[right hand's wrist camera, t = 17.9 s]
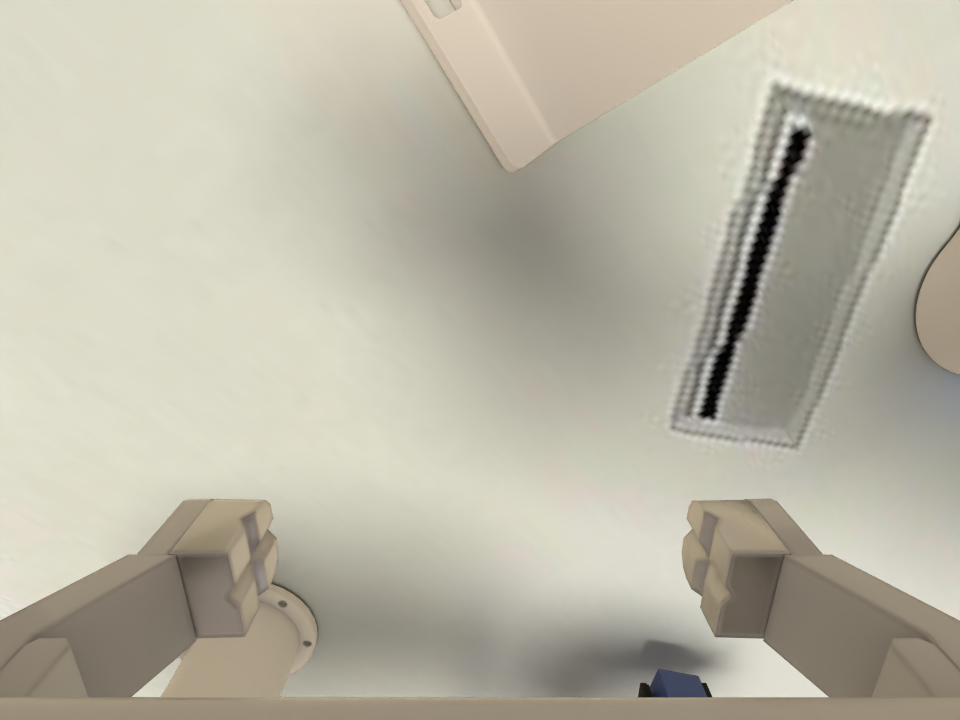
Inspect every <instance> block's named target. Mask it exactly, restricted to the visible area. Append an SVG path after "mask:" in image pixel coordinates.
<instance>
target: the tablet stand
mask: <svg viewBox="0 0 960 720" xmlns="http://www.w3.org/2000/svg"><path fill="white" fill-rule="evenodd" d="M791 1H793V0H451V2H452V3H453V5H454V7H455V9H456V11H454V12H452V13H451V14H449V15H447V16H445V17H443V18H441V19H437V18H435V17H434V15H433V14H432V12H431V11H430V9H429V7H428V6H427V4H426V2H425V1H424V0H401V2H402V4H403V5H404V7H405V8H406V10H407V12H408V13H409V15H410V17H411V18H412V20H413V21H414V23H415V25H416V26H417V28H418V30H419V31H420V33H421V34H422V36H423V38H424V39H425V41H426V43H427V44H428V46H429V47H430V49H431V51H432V52H433V54H434V56H435V57H436V59H437V60H438V62H439V64H440V65H441V67H442V69H443V70H444V72H445V73H446V75H447V77H448V78H449V80H450V82H451V83H452V85H453V86H454V88H455V90H456V91H457V93H458V95H459V96H460V98H461V99H462V101H463V103H464V104H465V106H466V108H467V109H468V111H469V113H470V114H471V116H472V117H473V119H474V121H475V122H476V124H477V126H478V127H479V129H480V130H481V132H482V134H483V135H484V137H485V139H486V140H487V142H488V143H489V145H490V147H491V148H492V150H493V152H494V153H495V155H496V156H497V158H498V160H499V161H500V163H501V165H502V166H503V168H504V169H505V170H506V171H508V172H512V173H513V172H516V171H518V170H520V169H521V168H523V167H525V166H526V165H527V164H529V163H530V162H531V161H533V160H534V159H535V158H536V157H538V156H539V155H540V154H542V153H543V152H544V151H546V150H547V149H548V148H550V147H551V146H552V145H554V144H555V143H557V142H558V141H560V140H562V139H563V138H565V137H567V136H568V135H570V134H572V133H573V132H575V131H577V130H578V129H580V128H582V127H583V126H585V125H587V124H588V123H590V122H592V121H593V120H595V119H597V118H598V117H600V116H602V115H603V114H605V113H607V112H608V111H610V110H612V109H613V108H615V107H617V106H618V105H620V104H622V103H623V102H625V101H627V100H628V99H630V98H632V97H633V96H635V95H637V94H638V93H640V92H642V91H643V90H645V89H647V88H648V87H650V86H652V85H653V84H655V83H657V82H658V81H660V80H662V79H663V78H665V77H667V76H668V75H670V74H672V73H673V72H675V71H677V70H678V69H680V68H682V67H683V66H685V65H687V64H688V63H690V62H692V61H693V60H695V59H697V58H698V57H700V56H701V55H703V54H705V53H706V52H708V51H710V50H711V49H713V48H715V47H716V46H718V45H720V44H721V43H723V42H725V41H726V40H728V39H730V38H731V37H733V36H735V35H736V34H738V33H740V32H741V31H743V30H745V29H746V28H748V27H750V26H751V25H753V24H755V23H756V22H758V21H760V20H761V19H763V18H765V17H766V16H768V15H770V14H771V13H773V12H775V11H776V10H778V9H780V8H781V7H783V6H785V5H786V4H788V3H790V2H791Z"/></svg>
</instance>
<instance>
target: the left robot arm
mask: <svg viewBox="0 0 960 720" xmlns="http://www.w3.org/2000/svg"><path fill="white" fill-rule="evenodd" d="M258 600H259V606H260V608H259V610H258V612H257V614H256V616H255V618H254V620H253V622H252V624H251V626H250V628H249V630H248V632H247V634H246V636H245V637H229V638H196V642H195V643H194V644H193V645H191V646H190V647H189V648H188V649H187V650H185V651H184V652H183V653H182V654H181V655H180V656H178V657H177V658H181V659H182V662H181V664H180V665H179V667H178V669H177V670H176V672H175V674H174V676H173V677H172V679H171V681H170V682H169V684H168V686H167V687H166V689H165V691H164V692H163V694H162V696H161V697H182V698H261V697H281V694H282V692H283V689H284V686H285V684H286V681H287V678H288V675H291V674H293V673H295V672H296V671H298V670H299V669H301V668H302V667H303V666H304V665H305V664H306V663H307V662H308V661H309V659H310V658H311V656H312V654H313V652H314V649H315V646H316V642H317V637H318V632H317V625H316V622H315V619H314V617H313V615H312V613H311V612H310V610H309V608H308V607H307V606H306V605H305V604H304V603H303V602H302V601H301V600H300V599H299V598H297V597H296V596H295V595H294V594H292V593H290V592H289V591H287V590H285V589H283V588H281V587H278V586H276V585H273V584H271V585H270V587H269V589H268V590H266V591H265V592H263V593H262V594H261V595H259V596H258ZM702 686H703V688H704V690H705V693H706V695H707V698H712V695H711V693H710V691H709V688H708V686H707V684H706V683H702ZM638 698H653V697H652V694H651V690H650V687H649V685H647V684H646V683H640V688H639V695H638Z"/></svg>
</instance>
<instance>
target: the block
mask: <svg viewBox="0 0 960 720" xmlns="http://www.w3.org/2000/svg"><path fill="white" fill-rule="evenodd" d="M650 690H651V694H652V697H653V698H707V695H706V693H705V690H704V688H703V686H702V683H701V681H700V679H699V677H698V676H695V675H689V674H684V673H678V672H672V671H667V670H661V669H658V671H657V673H656V675H655V677H654V679H653V681H652V683H651V685H650Z"/></svg>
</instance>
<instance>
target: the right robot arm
mask: <svg viewBox="0 0 960 720" xmlns="http://www.w3.org/2000/svg"><path fill="white" fill-rule="evenodd" d="M916 328H917V333H918V337H919V340H920V342H921V344H922V346H923V348H924V350H925V351H926V353H927V354H928V355H929V357H930V358H931V359H932V360H933V361H934V362H935V363H937V364H938V365H939V366H941V367H942V368H944V369H946V370H948V371H950V372H953V373H956V374H959V375H960V228H959V229H958V231H957V232H956V234H955V235H954V236H953V238H952V239H951V240H950V241H949V243H948V244H947V245H946V246H945V247H944V249H943V250H942V251H941V252H940V254H939V255H938V256H937V258H936V259H935V261H934V262H933V264H932V266H931V267H930V269H929V271H928V273H927V275H926V277H925V279H924V281H923V284H922V286H921V289H920V292H919V296H918V300H917V306H916ZM272 520H273V515H272V510H271V505H270V504H269V503H268V502H267V501H266V500H238V499H215V500H214V499H189V500H186V501H183V502H182V503H181V504H180V505H179V507H178V508H177V509H176V510H175V511H174V512H173V513H172V515H171V516H170V517H169V518H168V519H167V520H166V522H165V523H164V524H163V525H162V526H161V527H160V528H159V530H158V531H157V532H156V533H155V534H154V535H153V537H152V538H151V539H150V540H149V541H148V542H147V543H146V545H145V546H144V547H143V548H142V549H141V550H140V552H139V553H138V554H137V555H127V556H125V557H123V558H121V559H119V560H117V561H115V562H113V563H111V564H109V565H107V566H105V567H104V568H102V569H100V570H98V571H96V572H94V573H92V574H90V575H88V576H86V577H84V578H82V579H80V580H78V581H76V582H74V583H72V584H70V585H69V586H67V587H65V588H63V589H61V590H59V591H57V592H55V593H53V594H51V595H49V596H47V597H45V598H43V599H41V600H39V601H37V602H36V603H34V604H32V605H30V606H28V607H26V608H24V609H22V610H20V611H18V612H16V613H14V614H12V615H10V616H8V617H6V618H4V619H2V620H1V621H0V720H960V621H959V620H957V619H955V618H953V617H951V616H949V615H947V614H946V613H944V612H942V611H940V610H938V609H936V608H934V607H932V606H930V605H928V604H926V603H924V602H922V601H920V600H918V599H916V598H915V597H913V596H911V595H909V594H907V593H905V592H903V591H901V590H899V589H897V588H895V587H893V586H891V585H889V584H887V583H885V582H884V581H882V580H880V579H878V578H876V577H874V576H872V575H870V574H868V573H866V572H864V571H862V570H860V569H858V568H856V567H854V566H853V565H851V564H849V563H847V562H845V561H843V560H841V559H839V558H837V557H835V556H833V555H823V554H822V553H821V552H820V550H819V549H818V548H817V547H816V546H815V545H814V543H813V542H812V541H811V540H810V539H809V538H808V537H807V535H806V534H805V533H804V532H803V531H802V530H801V528H800V527H799V526H798V525H797V524H796V523H795V522H794V520H793V519H792V518H791V517H790V516H789V515H788V514H787V512H786V511H785V510H784V509H783V508H782V507H781V505H780V504H779V503H778V502H777V501H775V500H773V499H745V500H710V501H692V502H691V504H690V506H689V509H688V515H687V520H688V522H689V524H690V525H691V527H692V530H691V531H690V532H689V533H688V534H687V535H686V536H685V537H684V539H683V547H682V560H683V568H684V572H685V575H686V579H687V581H688V583H689V585H690V587H691V589H692V590H694V591H695V592H697V593H698V594H699V595H701V596H702V600H701V606H700V608H701V610H702V612H703V614H704V616H705V618H706V620H707V622H708V624H709V626H710V628H711V630H712V632H713V634H714V636H715V637H729V638H764V640H763V641H764V642H765V643H767V644H768V645H769V646H770V647H771V648H772V649H774V650H775V651H776V652H777V653H778V654H779V655H781V656H782V657H783V658H784V659H785V660H786V661H788V662H789V663H790V664H791V665H792V666H793V667H795V668H796V669H797V670H798V671H799V672H800V673H802V674H803V675H804V676H805V677H806V678H807V679H809V680H810V681H811V682H812V683H813V684H814V685H816V686H817V687H818V688H819V689H820V690H821V691H823V692H824V693H825V694H826V695H827V696H829V697H830V698H557V697H261V698H182V697H132V696H133V695H134V694H135V693H136V692H137V691H139V690H140V689H141V688H142V687H143V686H145V685H146V684H147V683H148V682H149V681H150V680H152V679H153V678H154V677H155V676H156V675H157V674H159V673H160V672H161V671H162V670H163V669H164V668H166V667H167V666H168V665H169V664H170V663H171V662H173V661H174V660H175V659H176V658H177V657H178V656H180V655H181V654H182V653H183V652H184V651H185V650H187V649H188V648H189V647H190V646H191V645H193V644H194V643H195V642H196V638H229V637H245V636H246V634H247V632H248V630H249V628H250V626H251V624H252V622H253V620H254V618H255V616H256V614H257V612H258V610H259V608H260V606H259V600H258V596H259V595H261V594H262V593H263V592H265V591H266V590H268V589H269V587H270V585H271V583H272V581H273V578H274V576H275V571H276V567H277V562H278V546H277V539H276V537H275V536H274V535H273V534H272V533H271V532H270V531H269V530H268V527H269V525H270V524H271V522H272Z"/></svg>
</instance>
